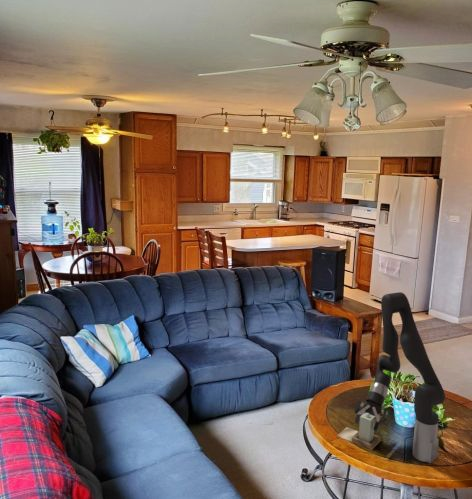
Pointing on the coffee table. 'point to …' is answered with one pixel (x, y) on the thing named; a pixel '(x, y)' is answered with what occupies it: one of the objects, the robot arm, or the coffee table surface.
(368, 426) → the cabinet block
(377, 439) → the mount board
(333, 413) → the coffee table surface
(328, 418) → the coffee table surface
